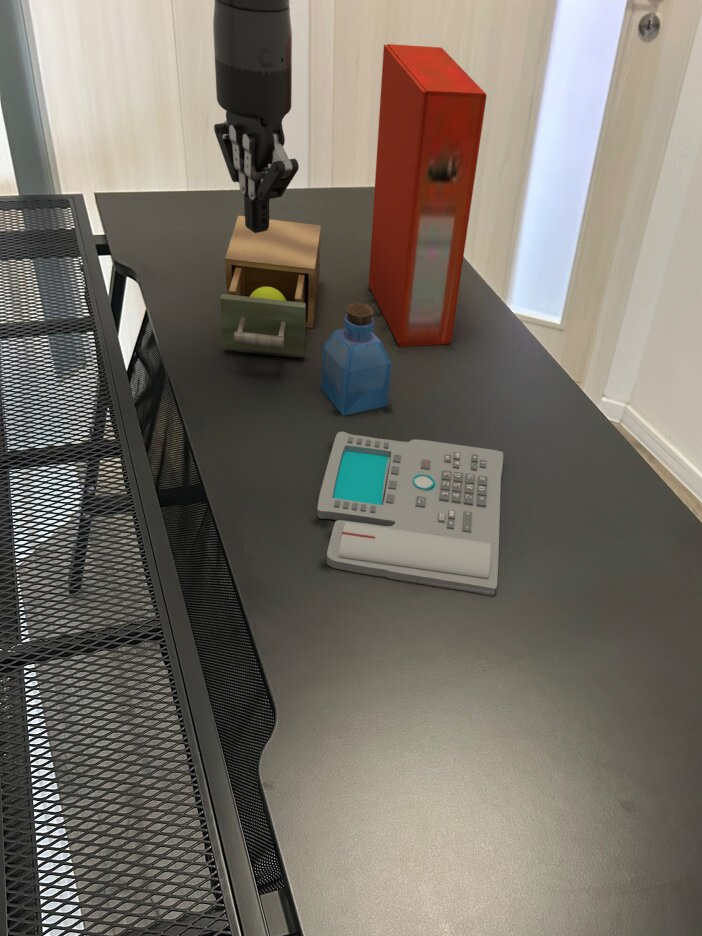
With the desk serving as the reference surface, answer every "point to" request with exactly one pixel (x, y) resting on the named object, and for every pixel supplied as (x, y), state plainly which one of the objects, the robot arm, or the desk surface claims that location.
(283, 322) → the drawer
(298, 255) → the cabinet
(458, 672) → the desk surface
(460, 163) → the file binder
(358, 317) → the perfume bottle
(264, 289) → the ball
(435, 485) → the office telephone
